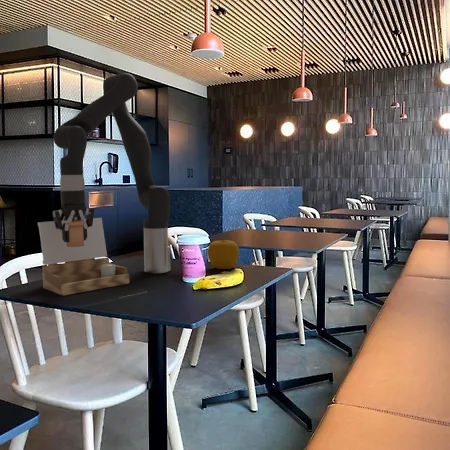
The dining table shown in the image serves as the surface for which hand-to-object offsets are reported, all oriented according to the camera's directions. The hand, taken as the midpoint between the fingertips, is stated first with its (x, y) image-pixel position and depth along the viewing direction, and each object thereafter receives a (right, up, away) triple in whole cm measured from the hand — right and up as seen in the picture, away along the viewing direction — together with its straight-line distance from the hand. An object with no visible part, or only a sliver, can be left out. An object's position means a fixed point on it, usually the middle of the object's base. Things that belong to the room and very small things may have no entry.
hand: (75, 241), depth 161 cm
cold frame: (+1, -16, +6) cm, 17 cm away
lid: (-3, 0, +8) cm, 9 cm away
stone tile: (+16, -16, -2) cm, 23 cm away
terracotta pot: (0, -1, 0) cm, 2 cm away
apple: (+48, -12, +38) cm, 63 cm away
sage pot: (+9, -14, +9) cm, 19 cm away
